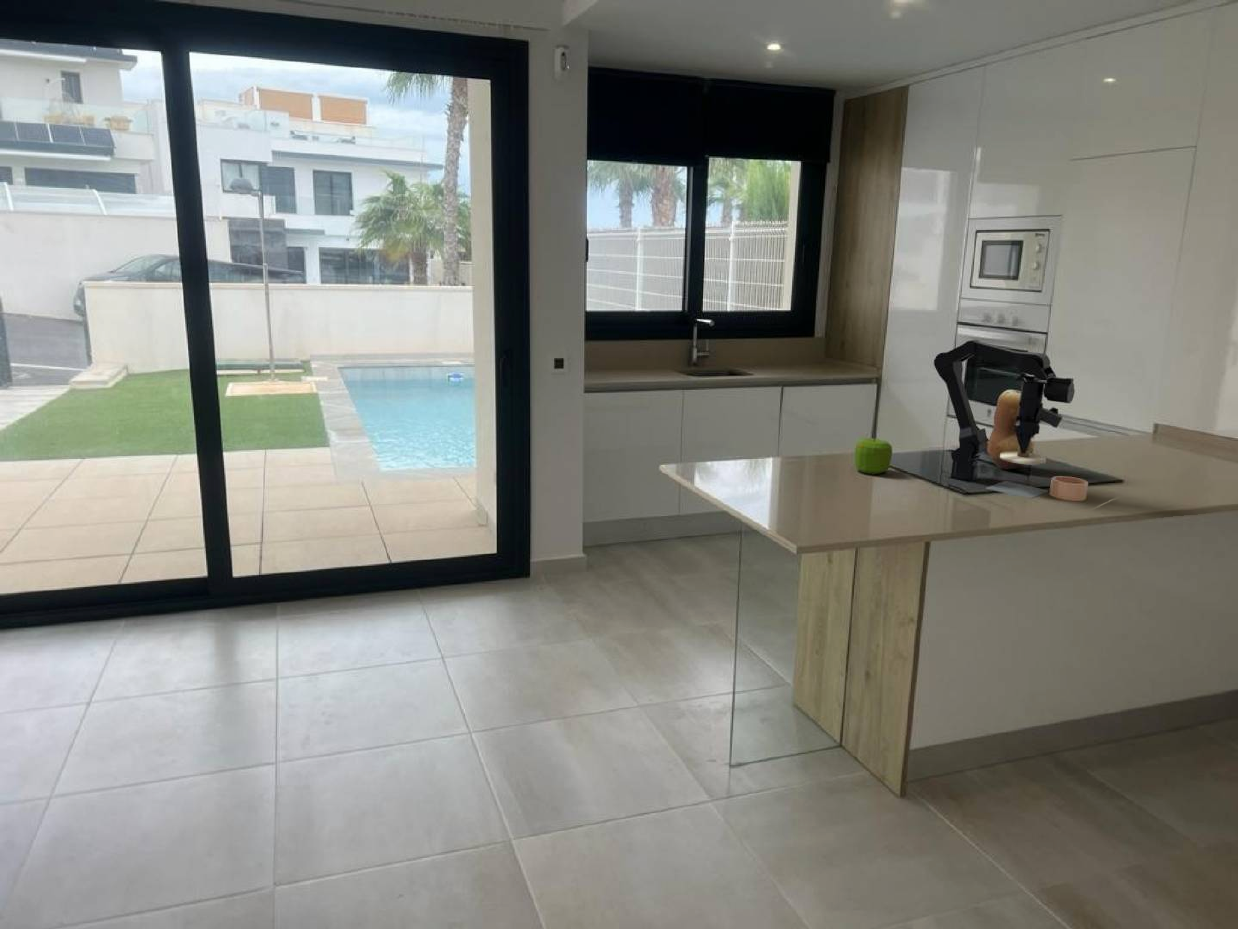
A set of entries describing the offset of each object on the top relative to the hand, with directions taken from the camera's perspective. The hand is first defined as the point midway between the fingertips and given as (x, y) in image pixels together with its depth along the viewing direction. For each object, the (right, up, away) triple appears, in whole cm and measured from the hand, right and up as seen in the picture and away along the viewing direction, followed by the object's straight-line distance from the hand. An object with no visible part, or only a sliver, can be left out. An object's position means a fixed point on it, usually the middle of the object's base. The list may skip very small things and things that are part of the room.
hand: (1023, 452), depth 253 cm
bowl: (+11, -13, -2) cm, 17 cm away
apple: (-38, -6, +19) cm, 43 cm away
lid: (0, -2, +1) cm, 2 cm away
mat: (0, -11, +3) cm, 11 cm away
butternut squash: (+8, -5, +29) cm, 30 cm away
